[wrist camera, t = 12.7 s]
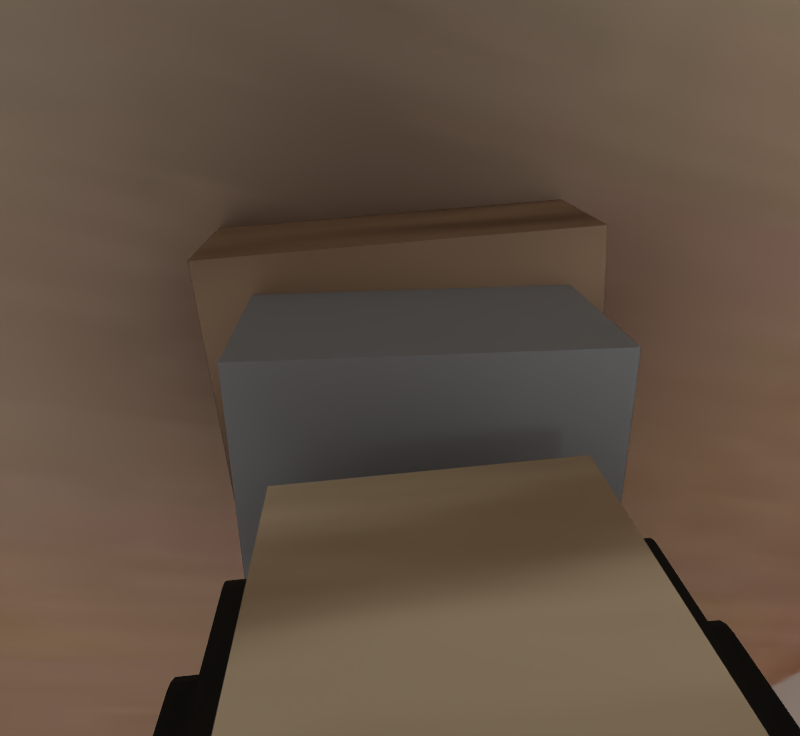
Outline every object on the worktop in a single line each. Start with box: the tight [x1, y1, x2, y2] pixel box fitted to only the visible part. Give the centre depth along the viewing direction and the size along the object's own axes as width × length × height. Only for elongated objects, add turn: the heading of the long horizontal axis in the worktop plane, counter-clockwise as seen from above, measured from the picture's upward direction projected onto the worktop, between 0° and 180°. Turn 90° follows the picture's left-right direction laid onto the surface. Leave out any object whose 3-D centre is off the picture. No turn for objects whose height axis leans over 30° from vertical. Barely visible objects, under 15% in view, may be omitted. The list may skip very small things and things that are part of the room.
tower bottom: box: [188, 200, 608, 499], centre depth 18 cm, size 9×9×4 cm
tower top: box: [218, 285, 641, 579], centre depth 14 cm, size 7×7×4 cm
